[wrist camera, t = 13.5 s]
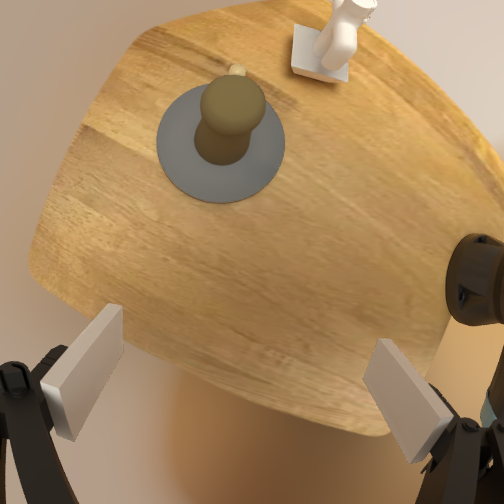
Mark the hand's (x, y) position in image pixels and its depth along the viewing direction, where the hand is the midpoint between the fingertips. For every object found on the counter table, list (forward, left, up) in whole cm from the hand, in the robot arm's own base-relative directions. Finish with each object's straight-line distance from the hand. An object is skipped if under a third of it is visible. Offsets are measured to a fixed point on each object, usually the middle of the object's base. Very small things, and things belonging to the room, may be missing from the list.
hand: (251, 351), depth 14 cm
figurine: (+4, -30, -19) cm, 36 cm away
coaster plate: (+8, -14, -19) cm, 25 cm away
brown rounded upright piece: (+8, -14, -18) cm, 24 cm away
